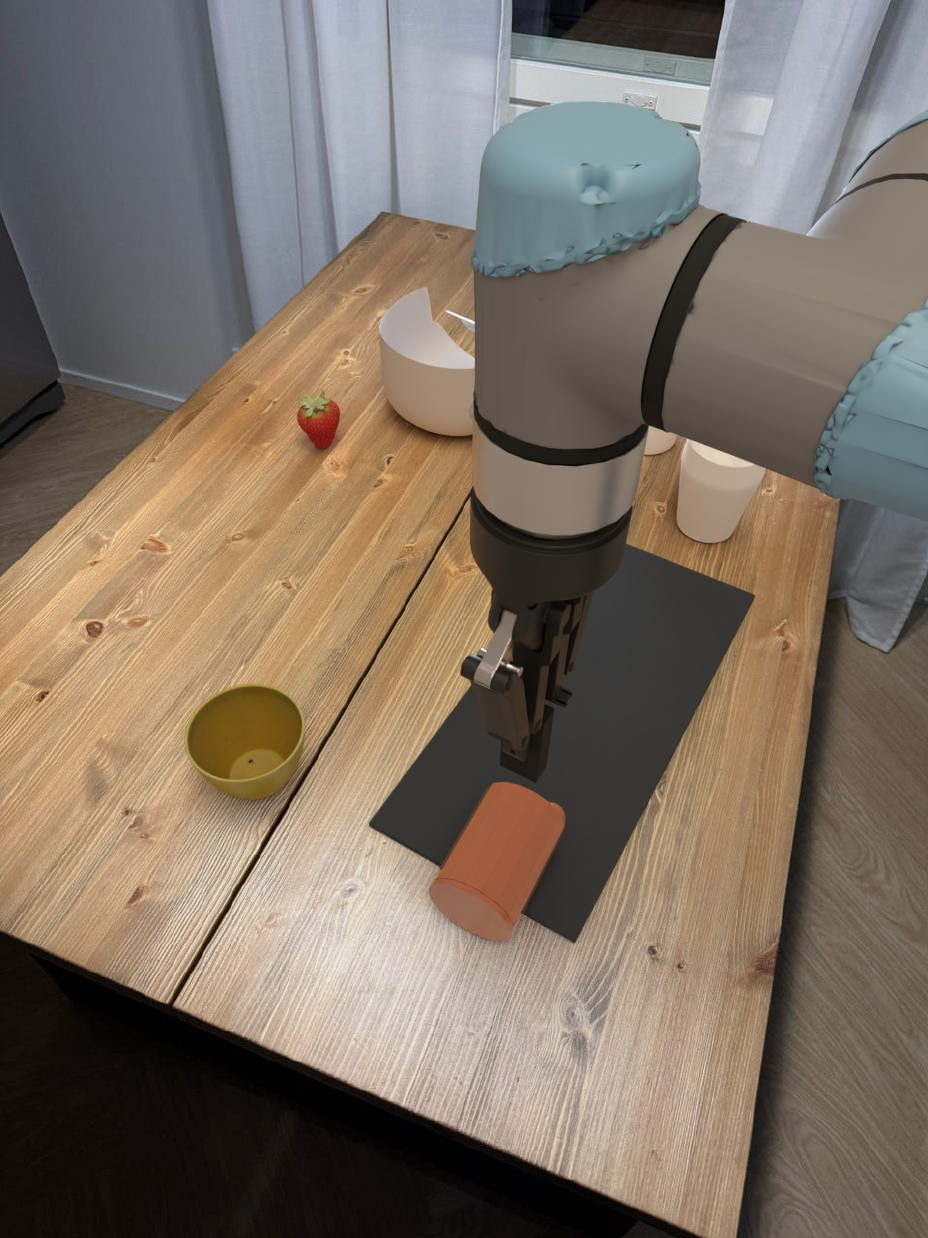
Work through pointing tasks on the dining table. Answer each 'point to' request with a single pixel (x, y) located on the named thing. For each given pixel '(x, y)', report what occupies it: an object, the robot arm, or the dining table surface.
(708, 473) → the cup
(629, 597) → the mat
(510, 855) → the spoon cup
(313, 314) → the dining table surface
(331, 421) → the fruit
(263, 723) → the flower pot
